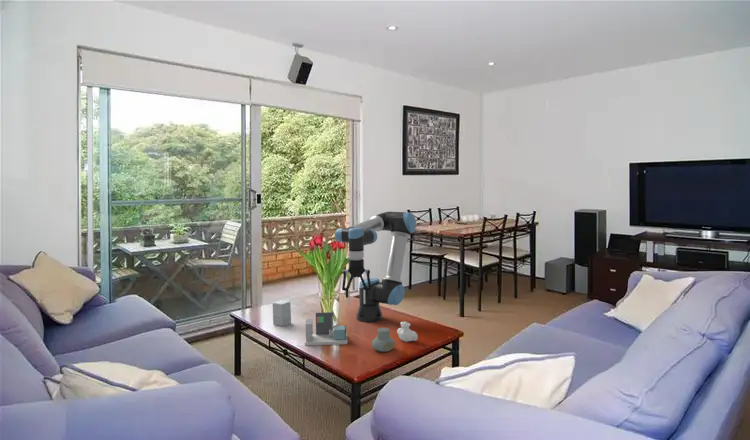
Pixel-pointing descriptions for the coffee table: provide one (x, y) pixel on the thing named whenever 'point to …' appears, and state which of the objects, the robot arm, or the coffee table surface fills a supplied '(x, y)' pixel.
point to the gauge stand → (324, 331)
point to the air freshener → (383, 341)
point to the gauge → (338, 331)
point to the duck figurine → (406, 333)
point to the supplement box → (281, 313)
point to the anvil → (309, 330)
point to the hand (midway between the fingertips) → (356, 303)
